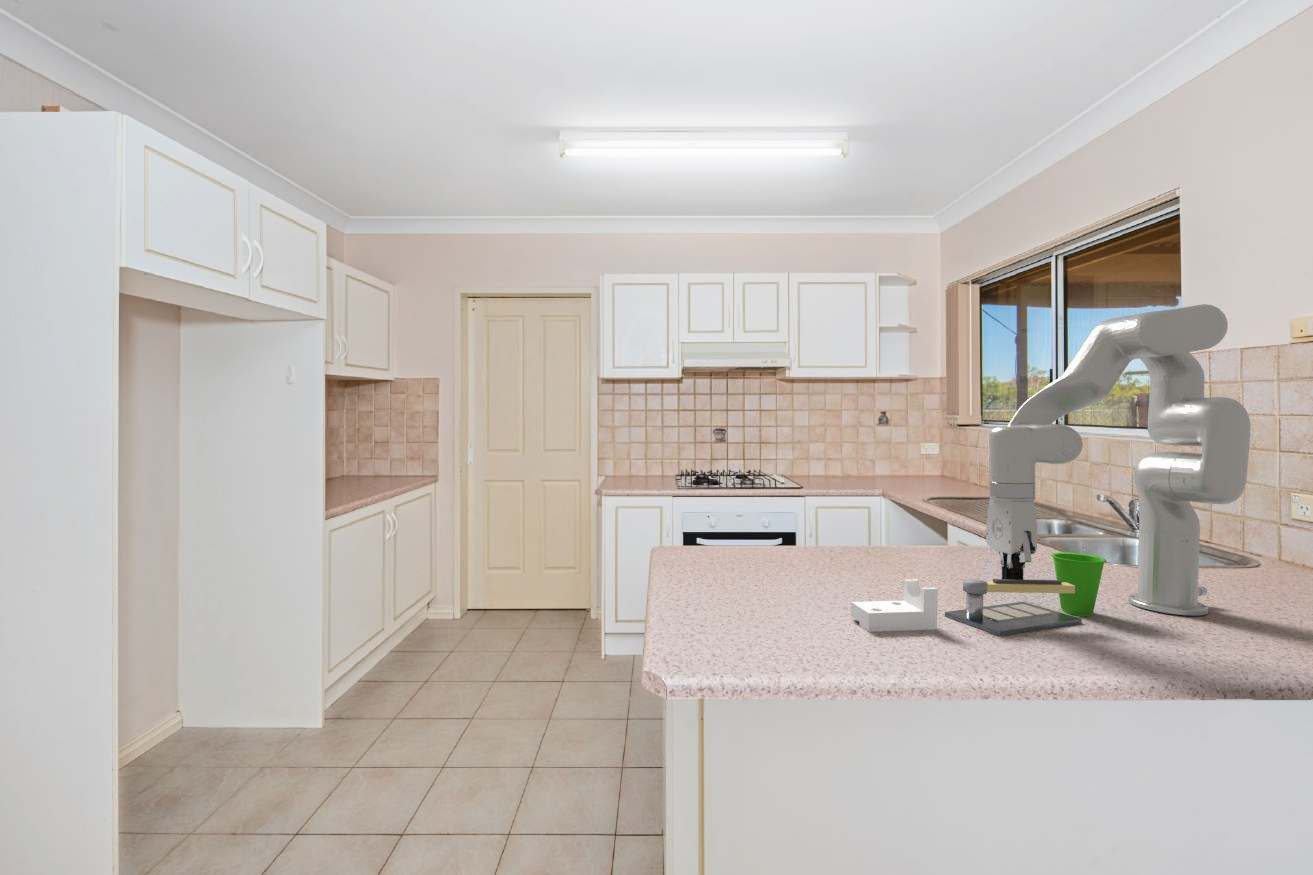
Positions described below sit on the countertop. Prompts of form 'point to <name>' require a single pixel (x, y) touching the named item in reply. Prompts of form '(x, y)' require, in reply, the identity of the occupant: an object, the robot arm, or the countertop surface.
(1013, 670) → the countertop surface
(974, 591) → the swing arm
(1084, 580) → the cup
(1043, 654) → the countertop surface
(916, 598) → the bracket
